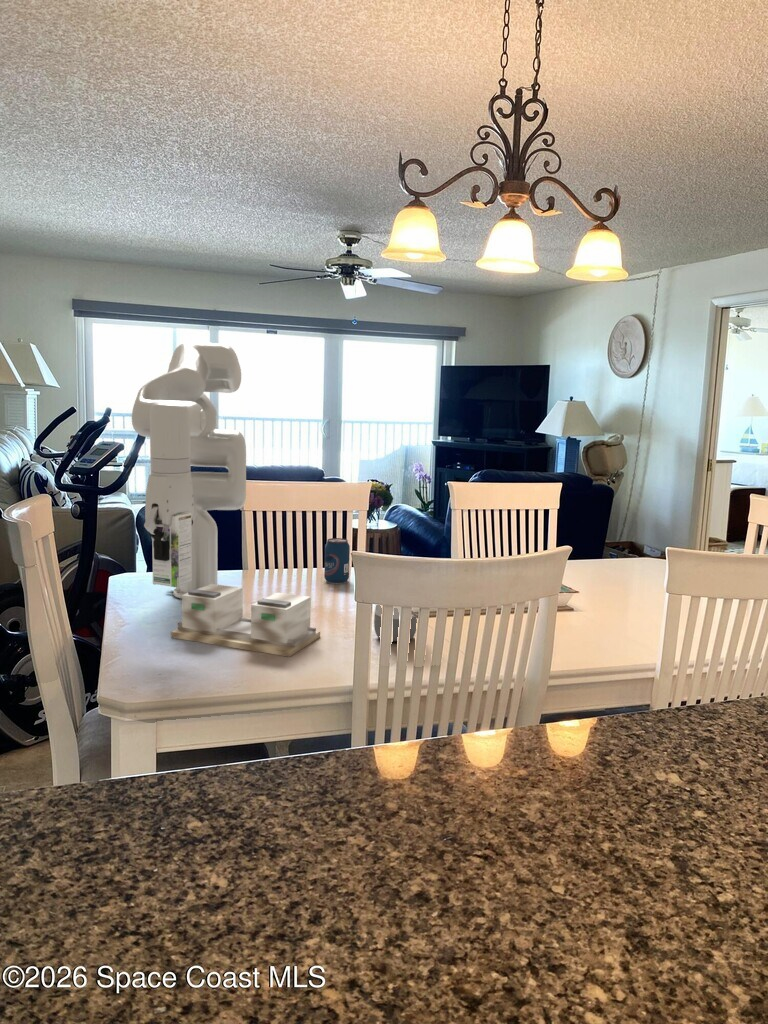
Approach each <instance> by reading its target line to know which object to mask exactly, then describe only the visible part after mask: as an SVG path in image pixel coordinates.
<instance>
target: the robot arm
mask: <svg viewBox="0 0 768 1024" xmlns="http://www.w3.org/2000/svg"><path fill="white" fill-rule="evenodd" d="M241 382H242V369H241V365H240V363H239V359H238V355H237V353H236V351H235V350H234V348H233V347H232V346H230V345H228V344H226V343H217V342H215V343H214V342H213V343H212V342H197V341H193V342H192V341H190V342H184V343H181V344H179V345H178V346H177V347H176V348H175V349H174V350H173V354H172V356H171V359H170V362H169V366H168V370H167V372H166V373H164V374H162V375H159V376H158V377H156V378H154V379H151V380H150V381H148V382H145V384H144V385H142V386H141V388H140V389H139V390H138V392H137V396H136V398H135V401H134V404H133V406H132V412H131V423H132V427H133V430H134V431H135V432H136V433H137V435H139V436H141V437H146V438H149V449H150V453H149V455H150V474H149V475H148V478H147V484H146V492H145V505H144V506H145V508H144V509H145V511H144V514H145V515H144V517H145V518H144V519H145V522H144V524H143V527H144V528H145V530H146V531H147V532H148V534H149V535H150V536H151V537H150V538H151V541H152V540H154V559H155V560H162V561H168V560H169V541H167V536H168V531H169V526H170V525H172V518H173V516H174V515H176V514H180V513H184V512H191V514H192V581H190V582H188V583H185V584H183V585H181V586H178V587H174V589H173V593H172V594H173V596H174V597H175V598H177V599H180V600H182V595H184V594H186V593H188V592H189V591H191V590H194V589H199V588H202V587H205V586H207V585H210V584H216V585H218V526H217V523H216V521H215V519H214V518H213V517H212V515H211V514H210V513H209V512H208V511H214V510H215V511H216V510H217V511H237V510H240V509H242V508H243V507H244V505H245V502H246V498H247V497H246V496H247V445H246V444H247V443H246V440H245V437H244V435H243V434H242V432H240V431H238V430H234V429H218V427H217V409H216V407H215V405H214V404H213V402H212V401H211V399H210V398H209V397H208V396H207V395H206V394H205V393H222V394H223V393H224V394H225V393H227V394H231V393H235V392H237V391H238V390H239V388H240V387H241ZM191 467H205V468H210V467H211V468H225V469H226V470H227V471H228V472H219V471H218V472H215V471H191ZM159 521H160V522H162V524H159ZM159 528H163V531H162V532H161V531H160V530H159Z"/></svg>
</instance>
